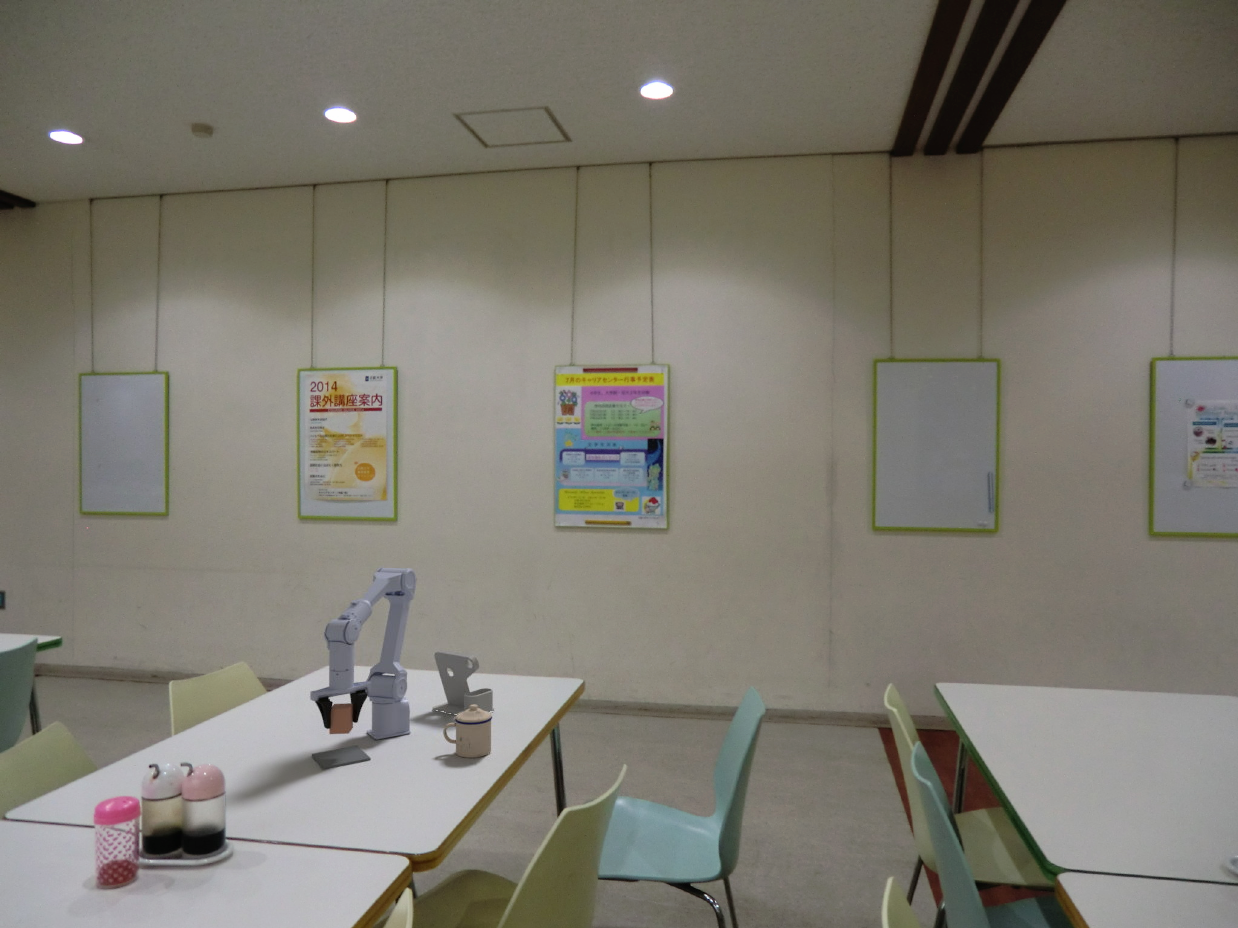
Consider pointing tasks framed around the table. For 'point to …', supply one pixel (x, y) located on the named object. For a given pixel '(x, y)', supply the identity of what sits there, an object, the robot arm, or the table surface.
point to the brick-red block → (341, 718)
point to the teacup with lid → (472, 733)
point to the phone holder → (460, 683)
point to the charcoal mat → (340, 757)
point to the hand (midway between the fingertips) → (341, 724)
